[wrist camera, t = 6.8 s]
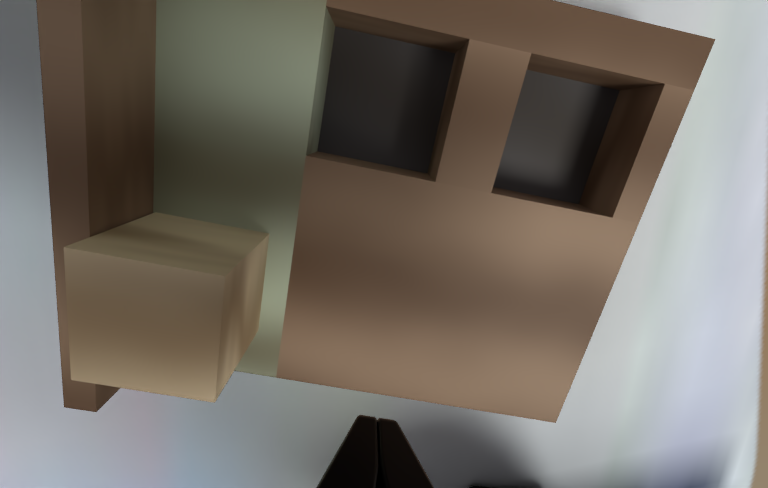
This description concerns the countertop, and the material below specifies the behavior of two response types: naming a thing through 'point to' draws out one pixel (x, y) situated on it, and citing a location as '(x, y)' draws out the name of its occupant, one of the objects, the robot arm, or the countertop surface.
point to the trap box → (376, 173)
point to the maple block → (164, 304)
